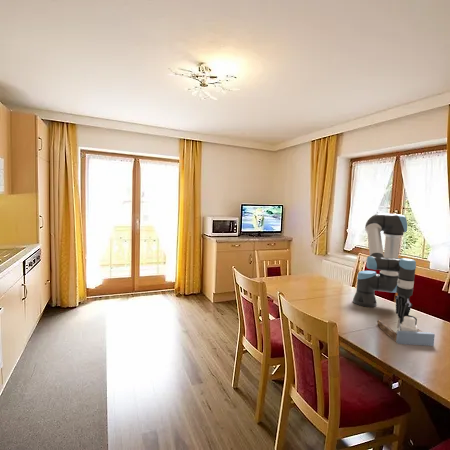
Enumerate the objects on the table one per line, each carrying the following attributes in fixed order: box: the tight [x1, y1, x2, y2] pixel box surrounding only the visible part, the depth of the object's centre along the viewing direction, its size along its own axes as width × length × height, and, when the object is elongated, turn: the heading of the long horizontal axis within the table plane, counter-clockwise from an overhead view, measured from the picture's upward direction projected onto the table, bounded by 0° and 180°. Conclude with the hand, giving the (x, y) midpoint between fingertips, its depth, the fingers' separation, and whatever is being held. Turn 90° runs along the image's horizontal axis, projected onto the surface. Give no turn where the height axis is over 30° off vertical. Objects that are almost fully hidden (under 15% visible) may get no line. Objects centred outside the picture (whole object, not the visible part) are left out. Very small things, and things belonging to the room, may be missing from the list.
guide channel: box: [377, 319, 423, 342], centre depth 154 cm, size 20×17×3 cm
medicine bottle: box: [399, 315, 419, 332], centre depth 149 cm, size 7×7×12 cm
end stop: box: [395, 329, 436, 347], centre depth 143 cm, size 2×17×6 cm, turn 87°
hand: (400, 328), depth 156 cm, fingers closed
